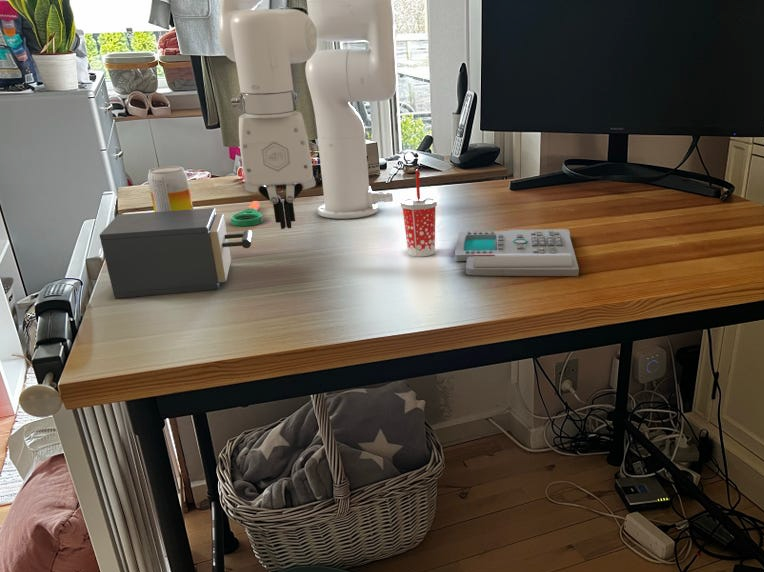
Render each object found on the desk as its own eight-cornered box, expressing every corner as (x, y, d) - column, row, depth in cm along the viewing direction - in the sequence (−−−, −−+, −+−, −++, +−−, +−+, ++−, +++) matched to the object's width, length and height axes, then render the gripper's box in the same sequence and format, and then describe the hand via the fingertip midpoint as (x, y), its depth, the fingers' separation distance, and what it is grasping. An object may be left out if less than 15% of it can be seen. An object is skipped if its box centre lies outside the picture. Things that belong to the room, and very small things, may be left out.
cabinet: (224, 265, 121) (215, 207, 117) (218, 289, 110) (207, 226, 106) (130, 273, 118) (117, 214, 114) (114, 298, 107) (99, 234, 103)
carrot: (260, 225, 145) (258, 217, 144) (228, 227, 144) (227, 218, 143) (270, 208, 158) (269, 200, 158) (242, 209, 158) (241, 201, 157)
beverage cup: (444, 249, 127) (441, 167, 121) (431, 259, 122) (426, 174, 116) (412, 246, 129) (407, 166, 123) (397, 256, 124) (392, 172, 118)
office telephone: (580, 261, 111) (450, 261, 112) (580, 277, 113) (451, 277, 113) (568, 221, 132) (459, 222, 133) (568, 235, 134) (459, 236, 134)
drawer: (257, 258, 121) (250, 211, 118) (254, 279, 111) (247, 229, 108) (144, 267, 118) (133, 219, 114) (130, 290, 108) (118, 238, 104)
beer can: (207, 252, 128) (192, 165, 122) (192, 263, 122) (174, 172, 116) (175, 252, 128) (157, 165, 122) (157, 262, 123) (138, 172, 117)
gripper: (213, 110, 102) (235, 237, 110) (321, 105, 105) (335, 228, 113) (218, 104, 109) (238, 224, 117) (319, 99, 112) (332, 216, 120)
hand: (286, 226), depth 115 cm, fingers closed
